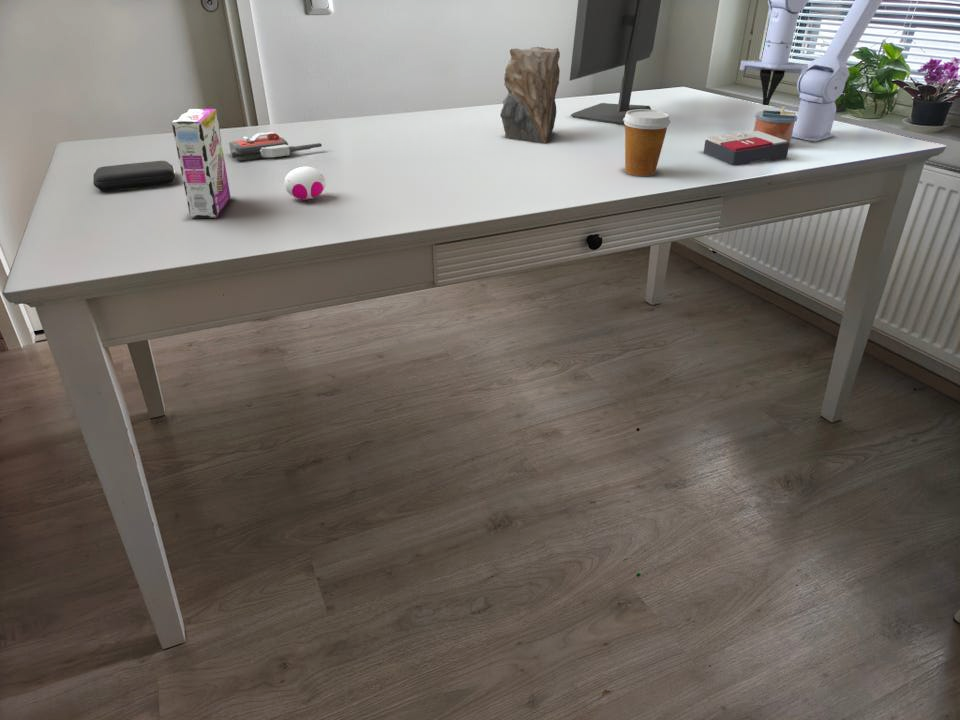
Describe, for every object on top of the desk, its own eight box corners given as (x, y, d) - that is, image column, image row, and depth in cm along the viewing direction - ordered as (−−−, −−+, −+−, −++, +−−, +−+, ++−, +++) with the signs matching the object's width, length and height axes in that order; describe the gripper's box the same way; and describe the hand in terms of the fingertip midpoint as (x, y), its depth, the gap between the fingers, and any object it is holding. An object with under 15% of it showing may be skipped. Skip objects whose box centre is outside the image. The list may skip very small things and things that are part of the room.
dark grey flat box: (704, 136, 161) (758, 128, 165) (702, 155, 163) (755, 146, 167) (735, 148, 152) (791, 139, 156) (732, 168, 155) (787, 158, 159)
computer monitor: (619, 99, 214) (636, -53, 193) (669, 106, 206) (692, -51, 185) (545, 126, 184) (555, -51, 163) (601, 135, 176) (619, -49, 155)
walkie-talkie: (236, 164, 151) (324, 152, 160) (232, 143, 148) (321, 132, 158) (224, 155, 157) (309, 143, 166) (221, 135, 155) (307, 124, 164)
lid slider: (780, 115, 165) (782, 107, 165) (780, 113, 168) (782, 105, 167) (794, 117, 165) (796, 109, 164) (794, 114, 167) (796, 106, 166)
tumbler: (749, 146, 168) (755, 115, 164) (750, 137, 176) (756, 107, 172) (790, 150, 165) (798, 118, 162) (790, 141, 173) (797, 110, 169)
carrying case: (173, 170, 146) (95, 179, 141) (170, 156, 145) (91, 164, 139) (178, 185, 138) (95, 194, 133) (174, 169, 137) (91, 178, 131)
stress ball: (291, 220, 131) (290, 198, 126) (282, 186, 134) (280, 163, 128) (331, 213, 134) (331, 191, 128) (321, 180, 137) (321, 157, 131)
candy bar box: (219, 218, 123) (200, 122, 114) (189, 219, 122) (169, 122, 114) (232, 197, 132) (216, 107, 124) (205, 198, 132) (187, 107, 123)
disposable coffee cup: (636, 181, 144) (644, 120, 137) (608, 169, 151) (614, 111, 145) (672, 175, 147) (681, 116, 141) (643, 163, 155) (651, 107, 148)
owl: (498, 137, 173) (500, 49, 163) (518, 126, 183) (522, 43, 172) (545, 143, 168) (551, 54, 158) (564, 132, 178) (570, 47, 168)
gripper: (744, 42, 159) (732, 105, 166) (813, 46, 154) (798, 110, 161) (746, 38, 164) (734, 99, 171) (812, 42, 160) (797, 104, 167)
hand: (765, 104), depth 167 cm, fingers closed
